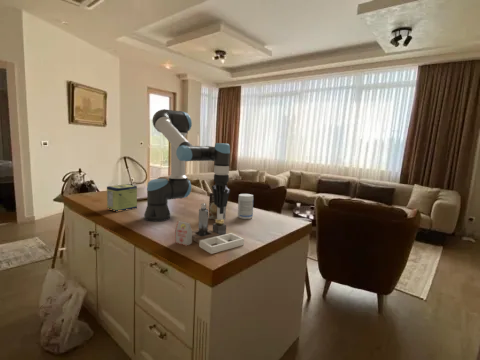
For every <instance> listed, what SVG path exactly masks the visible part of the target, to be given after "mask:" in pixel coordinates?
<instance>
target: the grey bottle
mask: <svg viewBox="0 0 480 360" xmlns="http://www.w3.org/2000/svg"><path fill="white" fill-rule="evenodd" d="M200 206H201V207H200V208H199V210H198V229H197V230H198V235H199V236H201V237H202V236H206V235H208V229H209V208H208V209H207V203H201V205H200Z"/></svg>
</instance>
